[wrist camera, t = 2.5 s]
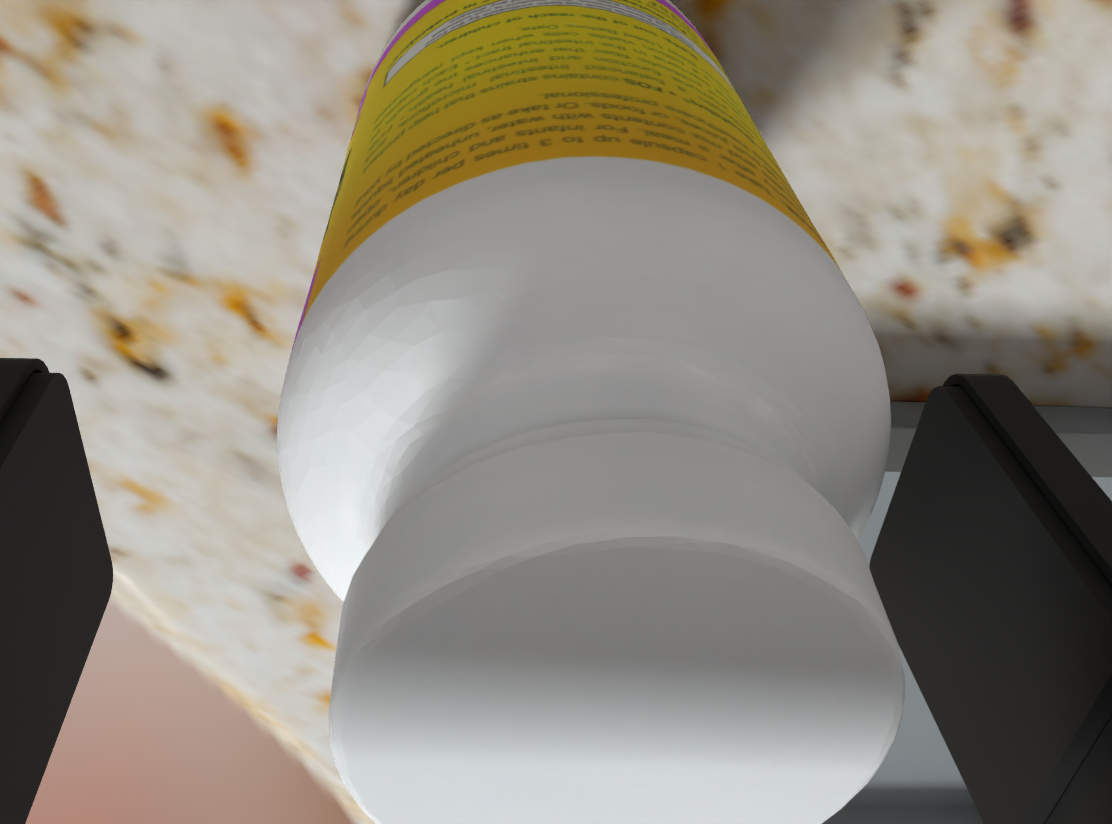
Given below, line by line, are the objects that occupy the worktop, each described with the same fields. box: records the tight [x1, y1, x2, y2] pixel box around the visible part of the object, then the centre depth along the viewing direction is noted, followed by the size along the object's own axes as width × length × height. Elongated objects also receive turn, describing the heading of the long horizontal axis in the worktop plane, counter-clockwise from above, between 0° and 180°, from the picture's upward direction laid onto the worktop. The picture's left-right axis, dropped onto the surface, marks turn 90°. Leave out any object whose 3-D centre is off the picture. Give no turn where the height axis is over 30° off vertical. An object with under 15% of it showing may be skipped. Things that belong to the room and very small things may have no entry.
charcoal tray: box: [822, 401, 1112, 824], centre depth 26 cm, size 15×15×2 cm
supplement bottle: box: [277, 0, 905, 824], centre depth 13 cm, size 7×7×13 cm
